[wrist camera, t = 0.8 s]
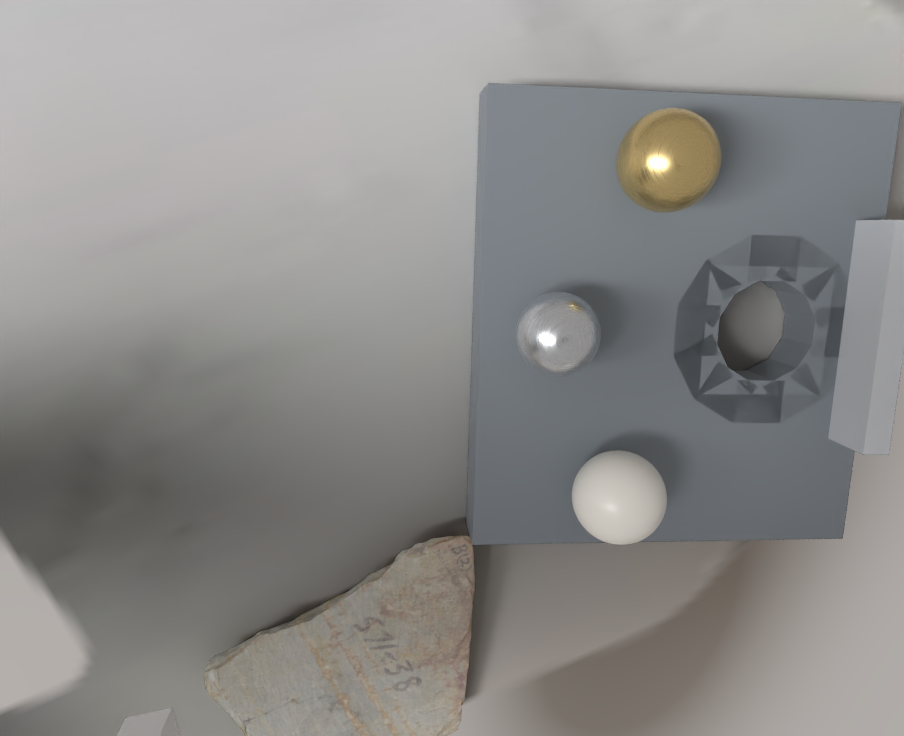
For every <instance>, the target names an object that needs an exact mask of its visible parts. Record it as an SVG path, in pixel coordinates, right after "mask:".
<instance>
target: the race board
mask: <svg viewBox="0 0 904 736" xmlns="http://www.w3.org/2000/svg"><path fill="white" fill-rule="evenodd" d="M901 104H902V103H894V102H873V101H852V100H832V99H811V98H790V97H769V96H748V95H728V94H707V93H686V92H665V91H644V90H624V89H603V88H582V87H561V86H540V85H520V84H499V83H488V84H487V85H486V87H485V88H484V89H483V91H482V92H481V93H480V104H479V135H478V166H477V197H476V229H475V260H474V291H473V322H472V353H471V385H470V416H469V447H468V478H467V510H466V525H467V528H468V531H469V535H470V538H471V542H472V545H493V544H551V543H607V542H604V541H601V540H599V539H597V538H596V537H594V536H593V535H591V534H590V533H589V532H588V531H587V530H586V529H585V528H584V527H583V526H582V525H581V523H580V522H579V520H578V518H577V516H576V514H575V512H574V508H573V504H572V487H573V483H574V480H575V477H576V475H577V473H578V472H579V470H580V469H581V467H582V466H583V465H584V464H585V463H586V462H587V461H588V460H590V459H591V458H593V457H594V456H596V455H598V454H600V453H603V452H607V451H615V450H621V451H628V452H632V453H635V454H637V455H639V456H641V457H643V458H644V459H646V460H647V461H649V462H650V463H651V464H652V465H653V466H654V467H655V468H656V470H657V471H658V472H659V474H660V475H661V477H662V479H663V482H664V484H665V487H666V493H667V506H666V511H665V515H664V517H663V519H662V521H661V523H660V525H659V526H658V527H657V529H656V530H655V531H654V532H653V533H652V534H650V535H649V536H648V537H646V538H645V539H643V540H641V541H639V542H668V541H726V540H780V539H783V540H784V539H841V538H843V533H844V525H845V518H846V511H847V503H848V496H849V488H850V481H851V474H852V466H853V459H854V452H855V451H856V452H858V453H860V454H862V455H889V450H890V444H891V437H892V430H893V423H894V416H895V408H896V402H897V395H898V388H899V382H900V375H901V368H902V361H903V354H904V220H886V215H887V208H888V200H889V193H890V185H891V178H892V171H893V163H894V156H895V148H896V141H897V134H898V126H899V119H900V112H901ZM665 108H680V109H686V110H690V111H692V112H694V113H696V114H698V115H699V116H701V117H703V118H704V119H705V120H706V121H707V122H708V123H709V124H710V125H711V126H712V128H713V129H714V131H715V132H716V134H717V136H718V139H719V142H720V147H721V167H720V171H719V174H718V177H717V179H716V181H715V183H714V185H713V186H712V188H711V189H710V190H709V192H708V193H707V194H706V195H705V196H704V197H703V198H702V199H701V200H700V201H698V202H697V203H695V204H694V205H692V206H690V207H688V208H686V209H684V210H680V211H677V212H671V213H659V212H653V211H649V210H646V209H644V208H642V207H640V206H638V205H637V204H635V203H634V202H633V201H632V200H631V199H630V198H629V197H628V196H627V195H626V194H625V192H624V191H623V189H622V187H621V185H620V183H619V180H618V176H617V170H616V158H617V152H618V148H619V146H620V143H621V141H622V139H623V137H624V135H625V134H626V133H627V131H628V130H629V129H630V127H631V126H632V125H633V124H634V123H635V122H637V121H638V120H639V119H640V118H642V117H644V116H645V115H647V114H649V113H651V112H653V111H656V110H660V109H665ZM758 281H762V282H763V283H765V284H766V285H768V286H769V287H771V288H772V289H774V290H775V291H776V293H777V295H778V298H779V300H780V302H781V305H782V307H783V309H784V312H785V317H784V325H783V334H782V338H781V340H780V341H779V343H778V344H777V346H776V347H775V349H774V350H773V352H772V353H771V355H770V356H769V358H768V359H766V360H764V361H762V362H760V363H759V364H757V365H755V366H753V367H751V368H750V369H748V370H731V369H730V368H728V367H727V364H726V362H725V360H724V358H723V356H722V354H721V351H720V349H719V347H718V345H717V341H718V331H719V320H720V316H721V315H722V313H723V312H724V310H725V309H726V307H727V306H728V304H729V303H730V301H731V300H732V298H733V297H734V295H735V294H736V293H738V292H740V291H742V290H744V289H745V288H747V287H749V286H751V285H753V284H754V283H756V282H758ZM550 292H567V293H571V294H574V295H576V296H578V297H580V298H582V299H583V300H584V301H586V302H587V303H588V304H589V305H590V306H591V307H592V308H593V310H594V311H595V313H596V315H597V317H598V319H599V323H600V327H601V341H600V345H599V348H598V351H597V353H596V355H595V357H594V358H593V359H592V361H591V362H590V363H589V364H588V365H587V366H586V367H584V368H583V369H582V370H580V371H579V372H576V373H574V374H572V375H568V376H562V377H554V376H548V375H544V374H541V373H539V372H537V371H536V370H534V369H533V368H531V367H530V366H529V365H528V364H527V363H526V362H525V361H524V360H523V358H522V356H521V355H520V353H519V351H518V348H517V345H516V339H515V330H516V324H517V321H518V318H519V316H520V314H521V312H522V311H523V309H524V308H525V307H526V306H527V305H528V304H529V303H530V302H531V301H532V300H534V299H535V298H537V297H539V296H541V295H543V294H546V293H550Z"/></svg>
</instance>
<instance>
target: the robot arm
mask: <svg viewBox="0 0 904 736" xmlns="http://www.w3.org/2000/svg"><path fill="white" fill-rule="evenodd" d="M117 736H180V733H179V730H178V727H177V723H176V720H175V716H174V713H173V709H172V708H167V709H162V710H158V711H153V712H149V713H144V714H140V715H135V716H131V717H126V718H125V720H124V722H123V724H122V726H121V728H120V730H119V732H118V734H117Z"/></svg>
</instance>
